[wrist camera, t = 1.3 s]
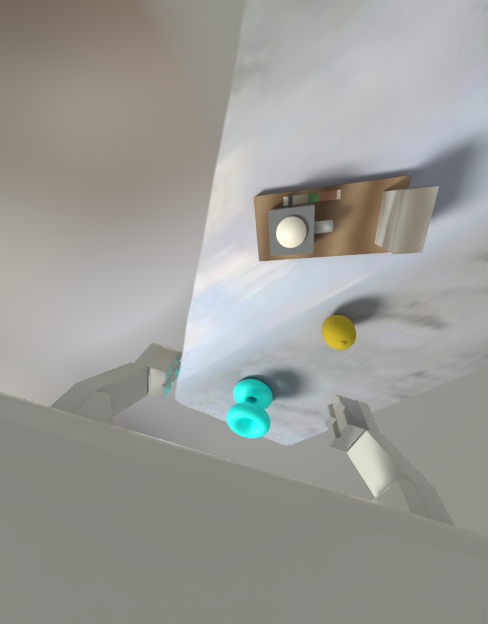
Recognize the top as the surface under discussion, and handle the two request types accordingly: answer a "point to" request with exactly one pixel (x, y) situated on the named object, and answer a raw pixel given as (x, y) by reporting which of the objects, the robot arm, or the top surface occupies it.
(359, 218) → the bench
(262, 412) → the donuts
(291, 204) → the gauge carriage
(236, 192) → the top surface
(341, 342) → the lemon
